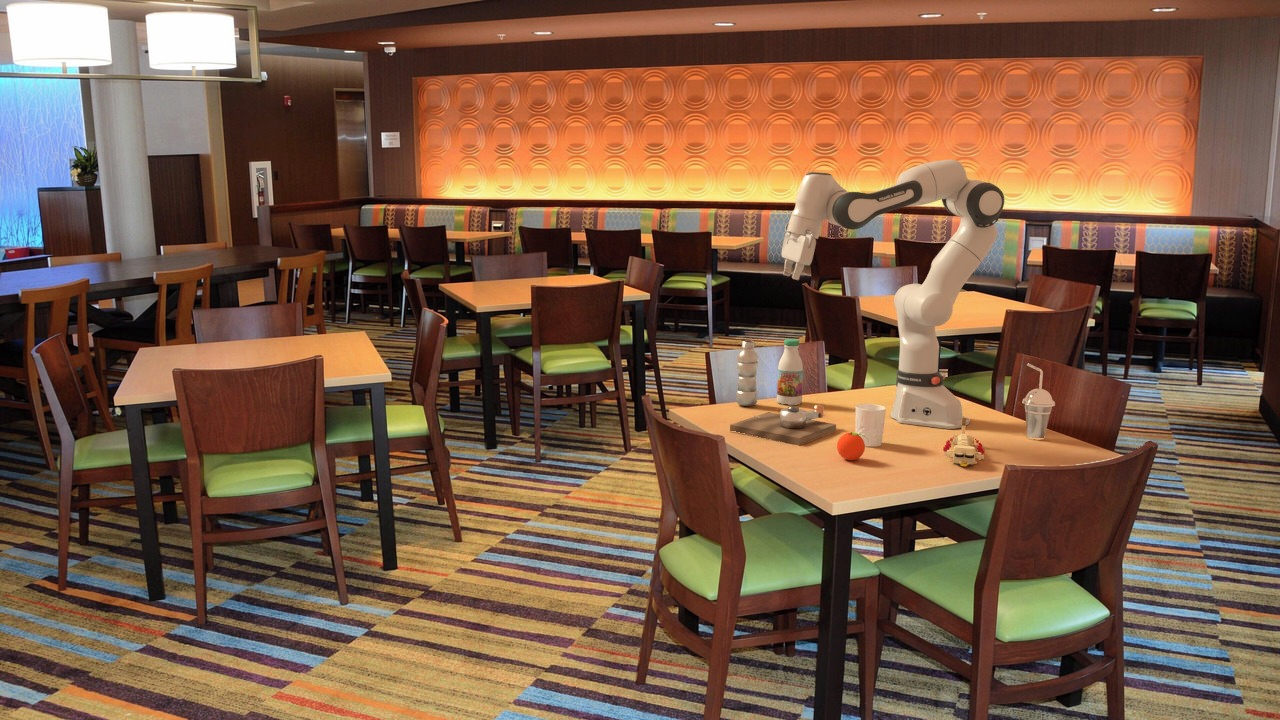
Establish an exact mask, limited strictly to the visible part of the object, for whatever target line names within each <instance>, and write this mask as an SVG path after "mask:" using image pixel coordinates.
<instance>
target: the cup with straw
mask: <svg viewBox="0 0 1280 720" xmlns="http://www.w3.org/2000/svg"><path fill="white" fill-rule="evenodd" d="M1026 366H1027V367H1030V368H1031V369H1033V370H1036V371H1038V372H1039V373H1040V374H1039V383H1038V386H1039V387H1038V388H1034V389H1031V390H1030V391H1029V392H1028V393H1027V394H1026V396H1025V397H1024V398H1023V399H1022V401H1021V403H1022V404H1023V405H1024V409H1025V423H1026V426H1025V427H1026V428H1025V429H1026V431H1025V432H1026V437H1027V436H1028V437H1032V438H1044V439H1045V436H1046V435H1047V434H1046V433H1047V429H1048V428H1047V427H1048V424H1049V419H1050V415H1051V412H1052V409H1053V408H1052V407H1055V406H1056V402H1055V401H1054V399H1053V397H1052V395H1051V394H1050V391H1047V390H1046V389H1043V388H1042V387H1043V378H1044V377H1043V376H1044V371H1043V370H1042V369H1041V368H1039V367H1037V366H1035V365H1033V364H1031V363H1026Z"/></svg>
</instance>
